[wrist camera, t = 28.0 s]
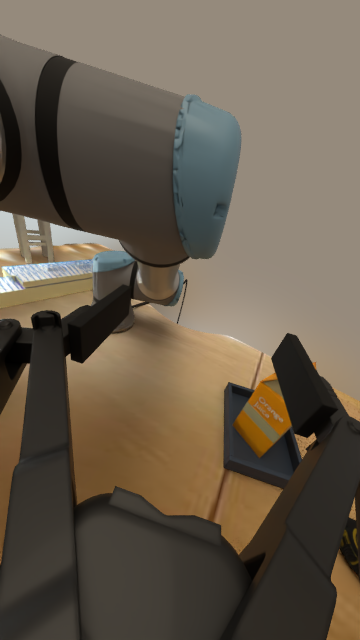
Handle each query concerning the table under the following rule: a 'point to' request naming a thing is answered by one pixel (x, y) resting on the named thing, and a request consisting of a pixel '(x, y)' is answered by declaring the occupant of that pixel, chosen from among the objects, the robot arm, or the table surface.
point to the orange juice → (264, 416)
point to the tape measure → (350, 544)
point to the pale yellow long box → (44, 281)
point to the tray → (240, 455)
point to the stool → (33, 238)
